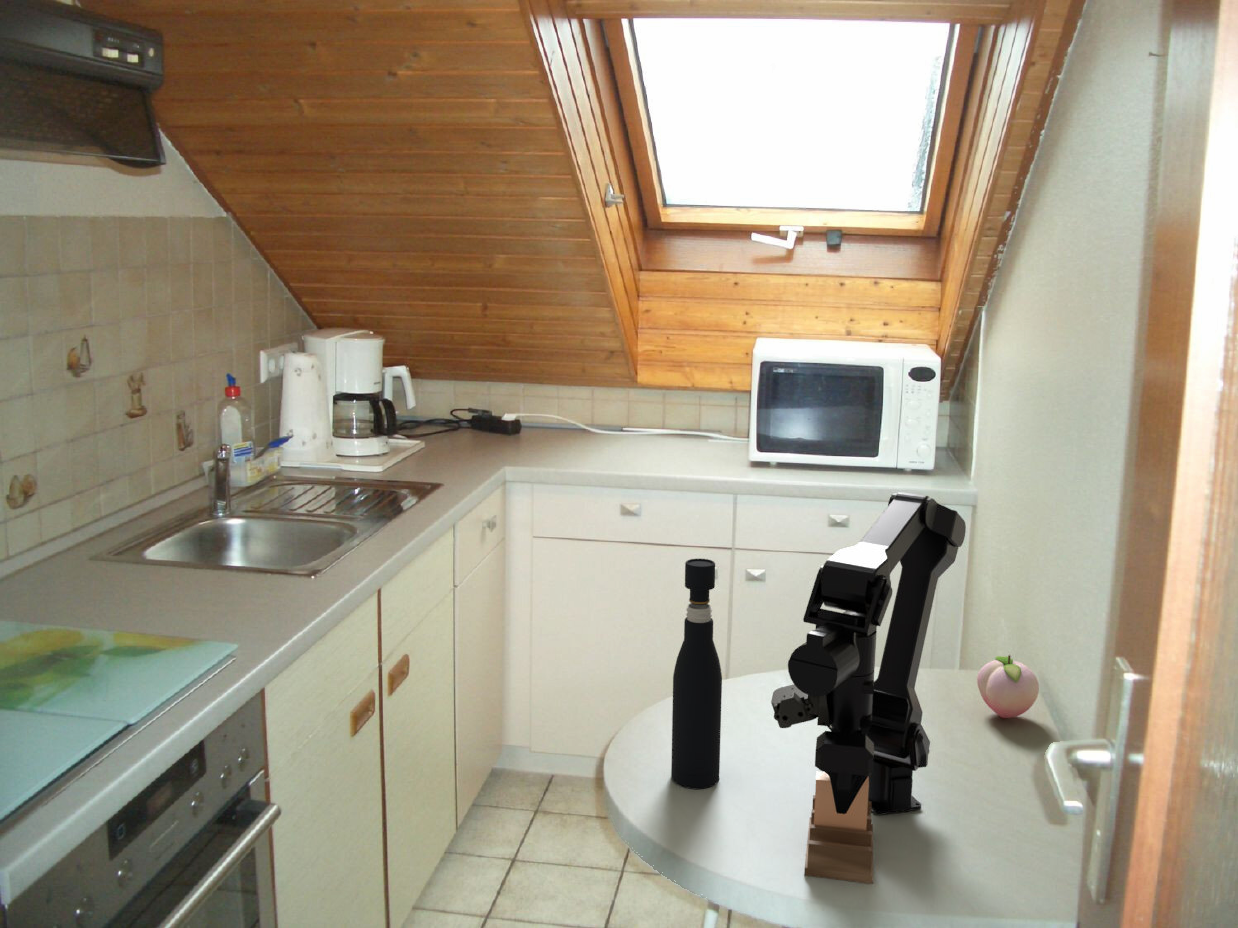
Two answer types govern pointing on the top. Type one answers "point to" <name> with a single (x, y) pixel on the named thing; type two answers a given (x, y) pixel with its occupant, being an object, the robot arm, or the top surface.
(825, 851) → the rack
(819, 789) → the block
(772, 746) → the top surface
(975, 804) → the top surface
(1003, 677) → the decorative fruit
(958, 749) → the top surface
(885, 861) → the top surface
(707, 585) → the wine bottle
